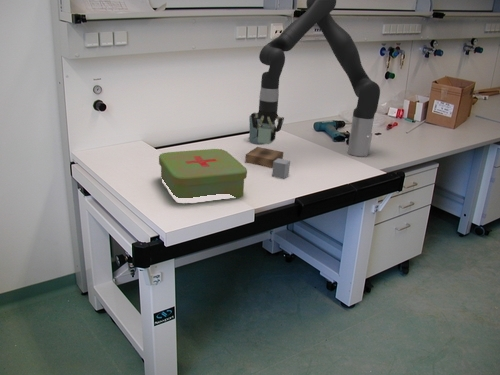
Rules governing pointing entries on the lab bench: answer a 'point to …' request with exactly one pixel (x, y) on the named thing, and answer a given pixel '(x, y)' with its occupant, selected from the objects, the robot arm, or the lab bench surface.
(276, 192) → the lab bench surface
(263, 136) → the green block
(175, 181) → the first aid kit
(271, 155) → the walnut block
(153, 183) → the lab bench surface
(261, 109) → the robot arm
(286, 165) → the grey block
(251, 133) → the grey-green plant pot
